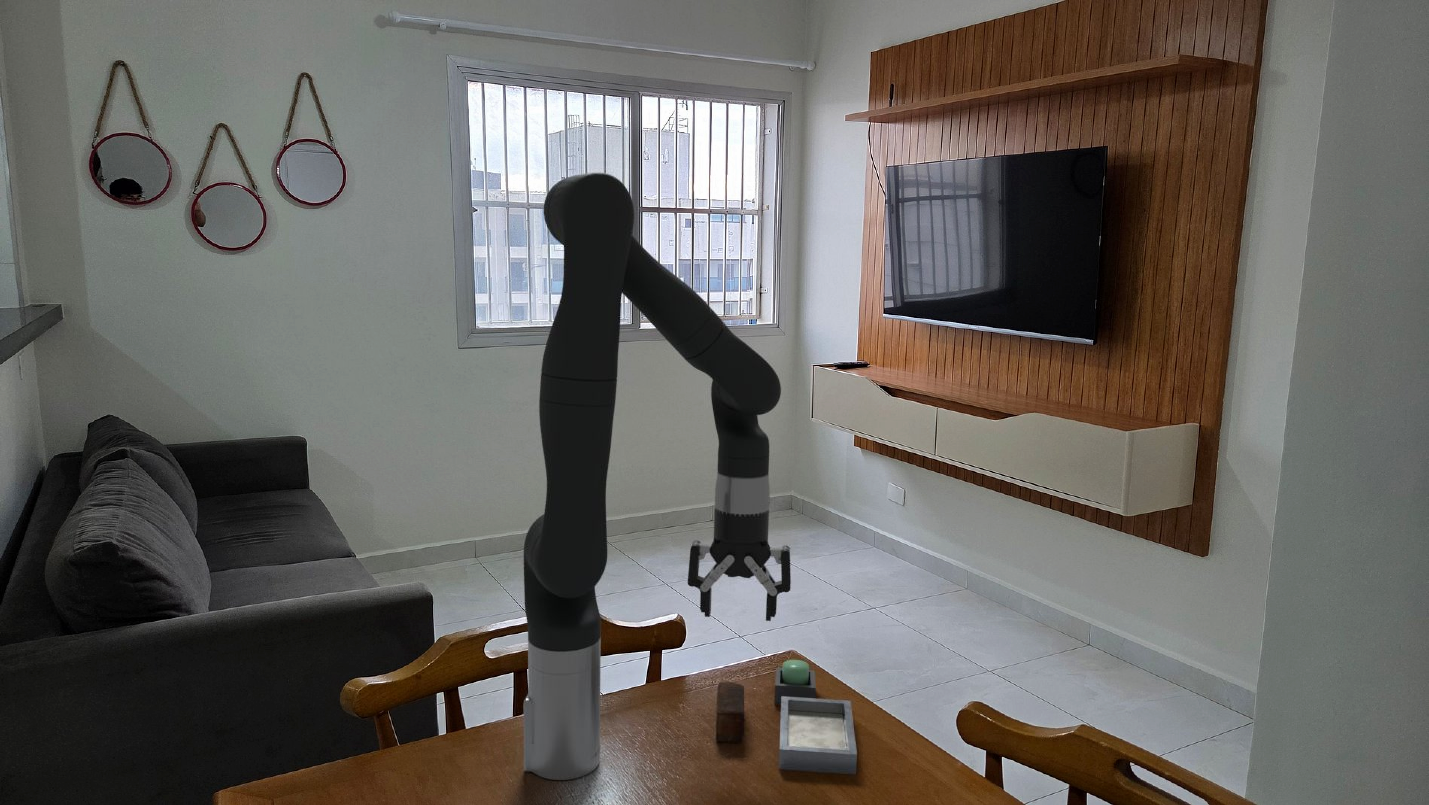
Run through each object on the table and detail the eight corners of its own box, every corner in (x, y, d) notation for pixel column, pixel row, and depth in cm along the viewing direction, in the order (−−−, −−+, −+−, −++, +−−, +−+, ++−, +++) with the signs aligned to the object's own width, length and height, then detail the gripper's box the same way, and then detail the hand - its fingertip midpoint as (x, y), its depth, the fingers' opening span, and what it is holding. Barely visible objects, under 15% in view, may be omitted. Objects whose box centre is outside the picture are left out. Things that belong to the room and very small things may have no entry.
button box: (774, 704, 141) (775, 685, 141) (775, 686, 147) (776, 668, 146) (814, 706, 141) (815, 687, 140) (813, 688, 146) (814, 670, 146)
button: (781, 685, 142) (782, 670, 141) (782, 674, 145) (782, 658, 145) (808, 687, 141) (809, 671, 141) (808, 675, 145) (808, 660, 145)
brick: (744, 745, 129) (745, 713, 129) (715, 744, 129) (716, 712, 129) (743, 708, 140) (744, 678, 139) (716, 707, 140) (717, 677, 139)
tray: (778, 769, 123) (779, 749, 123) (780, 714, 138) (781, 696, 138) (855, 774, 122) (857, 754, 122) (849, 718, 137) (850, 700, 137)
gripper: (687, 509, 127) (684, 624, 129) (793, 514, 125) (788, 630, 128) (693, 495, 134) (690, 604, 136) (794, 500, 133) (789, 610, 135)
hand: (738, 617), depth 132 cm, fingers open, 8 cm apart
